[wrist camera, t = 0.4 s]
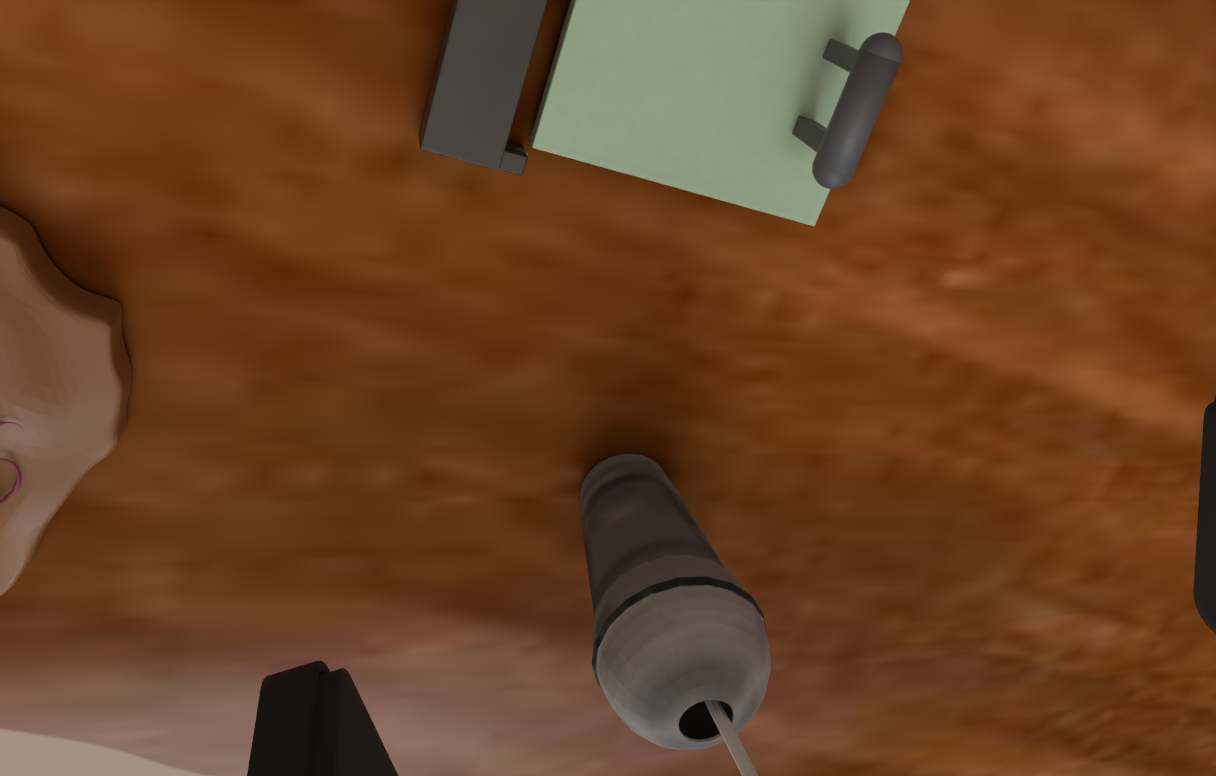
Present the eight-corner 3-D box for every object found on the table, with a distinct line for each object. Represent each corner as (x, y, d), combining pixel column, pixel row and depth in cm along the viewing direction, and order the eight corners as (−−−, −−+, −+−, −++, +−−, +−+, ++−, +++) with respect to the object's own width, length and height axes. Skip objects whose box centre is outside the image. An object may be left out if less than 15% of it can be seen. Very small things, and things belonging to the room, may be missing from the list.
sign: (528, 140, 43) (547, 183, 38) (612, -146, 39) (647, -141, 34) (806, 218, 47) (857, 267, 42) (911, -33, 43) (983, -14, 37)
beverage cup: (571, 419, 50) (671, 737, 33) (712, 438, 52) (877, 747, 35) (537, 543, 53) (611, 894, 36) (672, 557, 55) (804, 895, 38)
